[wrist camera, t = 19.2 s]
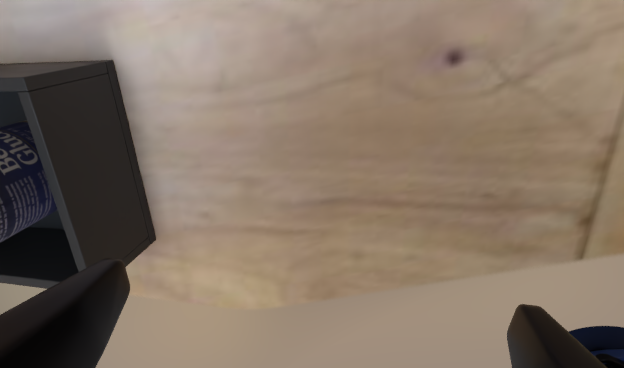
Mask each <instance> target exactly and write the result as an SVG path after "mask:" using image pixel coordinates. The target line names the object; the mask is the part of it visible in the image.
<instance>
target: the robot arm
mask: <svg viewBox="0 0 624 368" xmlns="http://www.w3.org/2000/svg"><path fill="white" fill-rule="evenodd" d="M129 292H130V283H129V280H128V276H127V272H126V268H125V265H124V263H123V261H122V260H119V259H111V258H104V259H102V260H100V261H98V262H96V263H94V264H92V265H90V266H89V267H87V268H85V269H83V270H81V271H80V272H78V273H76V274H74V275H72V276H70V277H69V278H67V279H65V280H63V281H61V282H59V283H58V284H56V285H54V286H52V287H50V288H48V289H47V290H45V291H43V292H41V293H39V294H38V295H36V296H34V297H32V298H30V299H28V300H27V301H25V302H23V303H21V304H19V305H18V306H16V307H14V308H12V309H10V310H8V311H7V312H5V313H3V314H1V315H0V368H95V367H96V365H97V363H98V361H99V359H100V358H101V356H102V354H103V352H104V349H105V347H106V345H107V343H108V341H109V339H110V336H111V334H112V332H113V330H114V327H115V325H116V323H117V320H118V318H119V316H120V314H121V311H122V309H123V307H124V304H125V302H126V300H127V298H128V295H129ZM507 340H508V346H509V352H510V358H511V363H512V368H624V361H622V360H620V359H618V358H615V357H613V356H611V355H609V354H597V355H595V356H594V355H593V354H592V353H591V352H590V351H588V350H587V349H586V348H585V347H584V346H583V345H582V344H581V343H580V342H579V341H578V340H576V339H575V338H574V337H573V336H572V335H571V334H570V333H569V332H568V331H567V330H565V329H564V328H563V327H562V326H561V325H560V324H559V323H558V322H556V320H555V319H553V318H552V317H551V316H550V315H549V314H548V313H547V312H546V311H545V310H544V309H542V308H541V307H539V306H533V305H525V304H522V305H519V306H518V307H517V308H516V311H515V313H514V316H513V318H512V321H511V323H510V326H509V328H508V332H507ZM603 363H606V364H603Z"/></svg>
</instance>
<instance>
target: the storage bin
mask: <svg viewBox="0 0 624 368" xmlns="http://www.w3.org/2000/svg"><path fill="white" fill-rule="evenodd" d="M25 120H27V122H28V124H29V127H30V130H31V133H32V136H33V139H34V142H35V145H36V148H37V151H38V154H39V157H40V160H41V163H42V166H43V169H44V171H45V174H46V177H47V180H48V183H49V186H50V189H51V192H52V195H53V198H54V201H55V204H56V207H57V211H55V212H53V213H52V214H50V215H48V216H46V217H45V218H43V219H41V220H39V221H37V222H36V223H34V224H32V225H30V226H29V227H27V228H25V229H23V230H22V231H20V232H18V233H16V234H15V235H13V236H11V237H9V238H8V239H6V240H4V241H2V242H1V243H0V283H7V284H15V285H23V286H31V287H39V288H47V289H48V288H50V287H52V286H54V285H56V284H58V283H59V282H61V281H63V280H65V279H67V278H69V277H70V276H72V275H74V274H76V273H78V272H80V271H81V270H83V269H85V268H87V267H89V266H90V265H92V264H94V263H96V262H98V261H100V260H102V259H104V258H111V259H119V260H122V261H123V263H124V265H125V267H126V266H127V265H128V264H129V263H131V262H132V261H133V260H134V259H135V258H136V257H137V256H138V255H139V254H141V253H142V252H143V251H144V250H145V249H146V248H147V247H148V246H149V245H150V244H152V243H153V242H154V241H155V240H156V238H155V234H154V230H153V225H152V221H151V217H150V213H149V209H148V205H147V200H146V196H145V192H144V188H143V184H142V180H141V176H140V171H139V167H138V163H137V159H136V155H135V151H134V147H133V142H132V138H131V134H130V130H129V126H128V122H127V118H126V113H125V109H124V105H123V101H122V97H121V93H120V88H119V84H118V80H117V76H116V72H115V68H114V64H113V61H112V60H104V61H75V62H46V63H18V64H0V127H3V126H7V125H10V124H14V123H17V122H21V121H25Z"/></svg>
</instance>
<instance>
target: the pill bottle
mask: <svg viewBox="0 0 624 368" xmlns="http://www.w3.org/2000/svg"><path fill="white" fill-rule="evenodd" d="M55 211H57V207H56V204H55V201H54V198H53V195H52V192H51V189H50V186H49V183H48V180H47V177H46V174H45V171H44V169H43V166H42V163H41V160H40V157H39V154H38V151H37V148H36V145H35V142H34V139H33V136H32V133H31V130H30V127H29V124H28V122H27V120H25V121H21V122H17V123H14V124H10V125H7V126H3V127H0V243H1V242H2V241H4V240H6V239H8V238H9V237H11V236H13V235H15V234H16V233H18V232H20V231H22V230H23V229H25V228H27V227H29V226H30V225H32V224H34V223H36V222H37V221H39V220H41V219H43V218H45V217H46V216H48V215H50V214H52V213H53V212H55Z"/></svg>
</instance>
